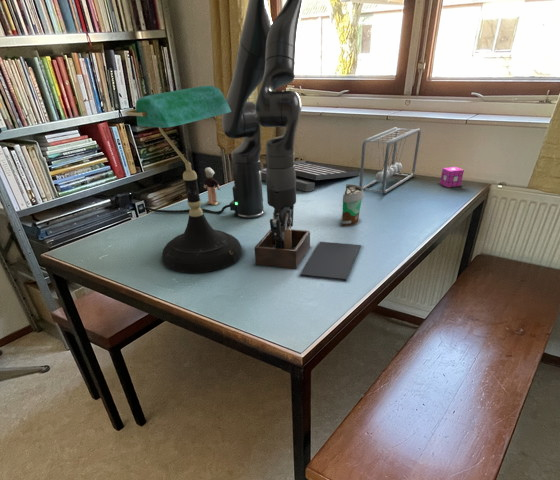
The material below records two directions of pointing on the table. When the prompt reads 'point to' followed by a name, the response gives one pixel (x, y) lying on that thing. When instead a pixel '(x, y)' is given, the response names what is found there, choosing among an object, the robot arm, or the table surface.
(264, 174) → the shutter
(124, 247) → the table surface
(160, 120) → the banker's lamp
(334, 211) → the table surface
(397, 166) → the newton's cradle
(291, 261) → the crate
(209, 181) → the grandmother figurine
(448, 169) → the puzzle toy
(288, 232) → the wooden block
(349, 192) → the food container
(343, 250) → the mat
